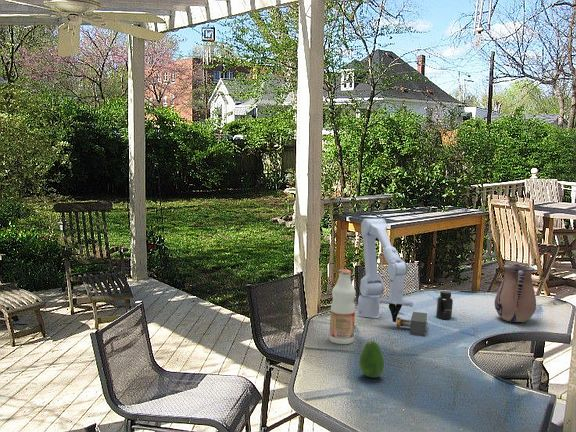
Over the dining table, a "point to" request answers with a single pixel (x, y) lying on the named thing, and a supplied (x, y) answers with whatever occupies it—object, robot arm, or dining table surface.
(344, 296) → the fruit juice
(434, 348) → the dining table surface
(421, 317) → the hitch beam
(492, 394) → the dining table surface
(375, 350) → the avocado
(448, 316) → the supplement bottle
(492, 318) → the dining table surface
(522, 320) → the ceramic pitcher
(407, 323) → the lynch pin
